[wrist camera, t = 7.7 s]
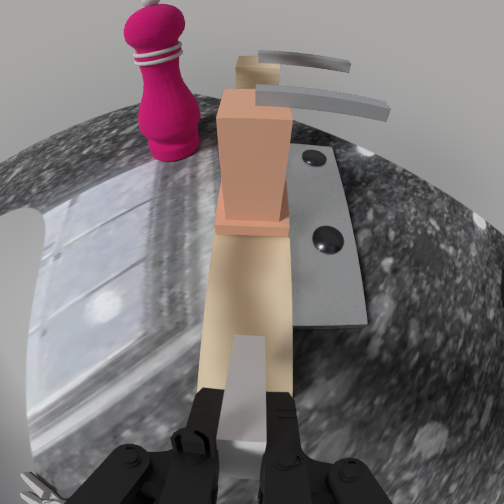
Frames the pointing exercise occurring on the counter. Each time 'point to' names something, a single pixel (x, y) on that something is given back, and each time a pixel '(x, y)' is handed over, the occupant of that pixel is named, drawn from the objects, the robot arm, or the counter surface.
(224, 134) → the slide leg
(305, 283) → the hole plate
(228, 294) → the rail
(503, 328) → the counter surface
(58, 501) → the pliers
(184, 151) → the pepper mill
